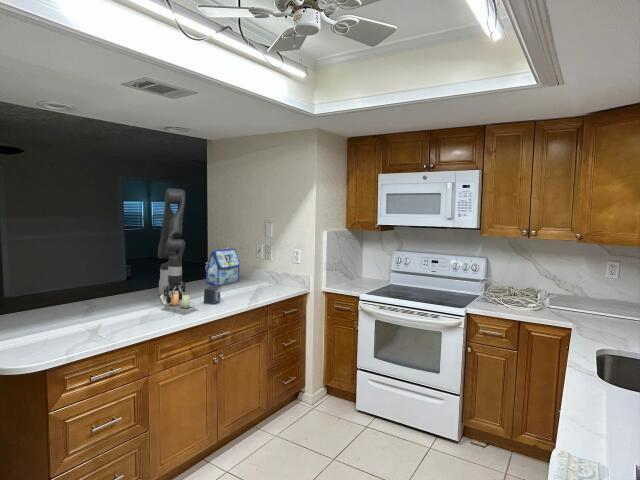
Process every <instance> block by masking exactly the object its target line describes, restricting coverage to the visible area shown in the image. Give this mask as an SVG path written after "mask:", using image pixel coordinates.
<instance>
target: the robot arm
mask: <svg viewBox="0 0 640 480" xmlns="http://www.w3.org/2000/svg"><path fill="white" fill-rule="evenodd" d="M185 204H186V191H185V190H184V189H180V188H172V187H171V188H169V187H168V188H167V189H166V190H165V195H164V210H163V217H162V223H161V230H160V231H161V232H160V239H159V244H158V248H157V257H158V258H159V259H161V260H168V261H165V262H164V263H161V264H160V268H159V271H160V273H159V276H160V277H159V280H158V295H159V296H161V295H163V294H164V296H166V297H167V303H166V304H170V303H171V295H172V294H173V292H175V291H178V293H179V300H182V294H183V295H184V293H185V292H186V282H185V281H183V268H182V267H183V266H182V265H183V262H182V261H183V254H184V251H185V249H186V242H185V240H184V239H183V238H178V237H181V236H182V235H183V218H184V213H185ZM171 205H178V209H177V210H176V211H175V213H174V211H173V209H172V207H171ZM175 238H176V239H175ZM177 252H178V253H177ZM169 293H170V294H169Z"/></svg>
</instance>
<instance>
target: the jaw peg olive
mask: <svg viewBox="0 0 640 480" xmlns="http://www.w3.org/2000/svg"><path fill="white" fill-rule="evenodd" d="M181 304H182V309H185V310H187V309H189V306H190V294H183V295H182V301H181Z"/></svg>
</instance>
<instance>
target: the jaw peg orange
mask: <svg viewBox="0 0 640 480" xmlns="http://www.w3.org/2000/svg"><path fill="white" fill-rule="evenodd" d="M179 304H180V302H179V293H177V292H174V293H173V294H172V295H171V307H177V306H179Z"/></svg>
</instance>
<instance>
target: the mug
mask: <svg viewBox="0 0 640 480" xmlns="http://www.w3.org/2000/svg"><path fill="white" fill-rule="evenodd" d="M175 292H177V293H178V291H175ZM173 293H174V292H173ZM169 294H170V293H169ZM182 295H184V293H183V294H182ZM159 297H160V300H161V302H162V304H163V305H165V304H166V305H167V304H168V303H167V297H166V296H164V294H163V295H159ZM181 302H182V300H179V303H181ZM170 304H171V303H170Z"/></svg>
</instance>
